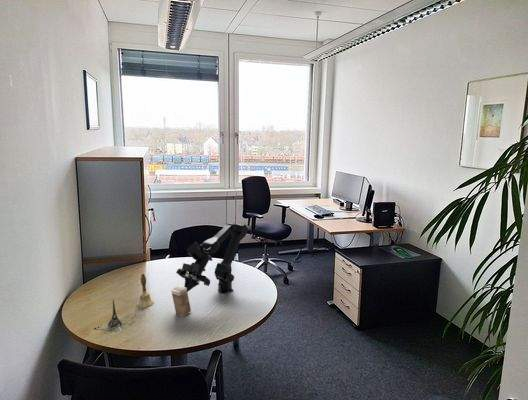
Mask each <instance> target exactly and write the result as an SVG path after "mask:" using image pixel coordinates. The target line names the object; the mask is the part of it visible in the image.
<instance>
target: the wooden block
mask: <svg viewBox="0 0 528 400" xmlns="http://www.w3.org/2000/svg"><path fill="white" fill-rule="evenodd" d="M171 297H172V301H173V305H174V309H175V310H174V311H175V314H176V315H178V316H180V317H182V318H183V317H186V316H187V314H189V313H190V312H192V310H191V309H192V308H191V304H190V299H189V292H187V288H186V287H184V285H181V284H179V285H177V286H176V287H174V288H172V289H171Z"/></svg>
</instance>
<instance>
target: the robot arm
mask: <svg viewBox="0 0 528 400" xmlns="http://www.w3.org/2000/svg"><path fill="white" fill-rule="evenodd" d="M248 231H249V228H248V226H247V225H246V224H243V223H237V222H236V223H234V222H227V223H225V226H223V227H222V229H221V230H219V231H218V232H217V233H216V234H214V236H213V237H211V238H207V239H206V240H204V241H203V242H202V243H201V244H199V243H198V242H196V241H195V242H194V243H193V244H190V245H189V246H188V247H187V249H186V252H187V255H189V256H190V257H191V258H192V259H193V260H195V261H194V262H191V263H190V264H189V263H185V262H184V263H182V267H181V268H178V269H177V270H176V271H175V273H176V274H177V275H178V276H180V277H181V278H183V279H184V285H183V286H184V287H186V288H187V293H189V292H190V291H191V290H192V289H194V288H195V287H197V286H199V285H200V282H202V283H203V285H204V286H207V287H210V285H211V279H209V278H208V277H207V276H206V275H203V272H206V266H207V264H208V263H209V261H210V262H213V257H212V255H215V254H216V253H217V251H218V250H219V249H220V247H221V246H220V245H221V244H222V243H223V242H224V241H225V240H226V239H227V238H228V237H229V235H231V239H230V241H229V244H228V246H227V249H226V252H225V253H224V257H223V259H222V261H221V262H217V264H216V267H215V268H214V276H215V279H216V280H217V281H218V284H217V285H218V286H217V287H218V288H217V291H218V292H220V293H222V294H228V293H230V292H233V291H234V289H233V288H232V286H233V282H234V280H235V276H234V275H233V274H232V271H233V269H232V263H233V261H234V257H236V256H235V255H236V253H237V251H238V248H239V245H240V243H241V241H242V240H244V238H245V237H246V236H247V234H248Z"/></svg>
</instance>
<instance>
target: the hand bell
mask: <svg viewBox="0 0 528 400" xmlns="http://www.w3.org/2000/svg"><path fill="white" fill-rule="evenodd" d="M140 276H141V277H140V284H141V288H142V292H141V293H140V295H139V301H138V302H137V303H136V306H137V308H141V309H143V308H148V307H151V306H153V305H154V303H155V301H154V299H152V298H151V296H150V292H147V287H146V285H147V278H146V275H145V273H141V275H140Z"/></svg>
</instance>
